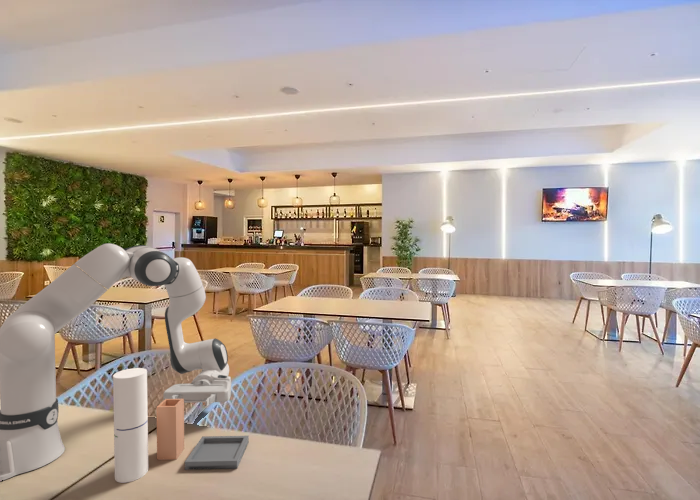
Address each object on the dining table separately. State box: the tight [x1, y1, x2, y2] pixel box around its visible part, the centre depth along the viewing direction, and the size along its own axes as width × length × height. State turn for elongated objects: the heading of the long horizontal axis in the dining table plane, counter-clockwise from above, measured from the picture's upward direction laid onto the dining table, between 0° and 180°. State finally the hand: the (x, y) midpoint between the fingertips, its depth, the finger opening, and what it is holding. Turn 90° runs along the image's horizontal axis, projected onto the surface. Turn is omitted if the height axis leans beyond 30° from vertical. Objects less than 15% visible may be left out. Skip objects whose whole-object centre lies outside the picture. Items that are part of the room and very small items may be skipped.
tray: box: [184, 435, 249, 471], centre depth 99 cm, size 13×12×2 cm
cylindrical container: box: [112, 367, 149, 483], centre depth 91 cm, size 7×7×25 cm
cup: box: [156, 399, 185, 461], centre depth 99 cm, size 5×5×14 cm
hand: (188, 404), depth 112 cm, fingers open, 8 cm apart
